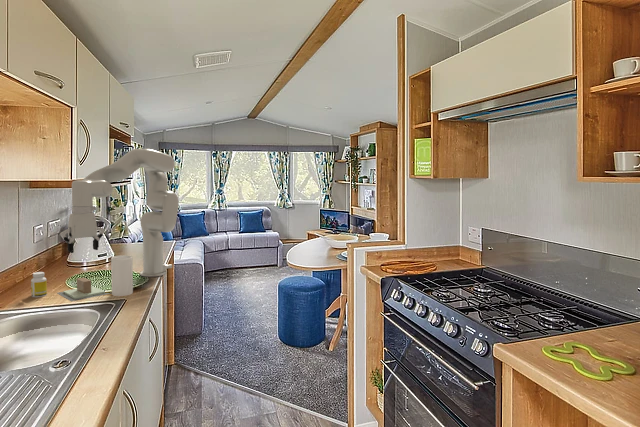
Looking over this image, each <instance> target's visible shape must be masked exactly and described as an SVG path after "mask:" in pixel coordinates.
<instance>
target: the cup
mask: <svg viewBox="0 0 640 427" xmlns="http://www.w3.org/2000/svg"><path fill="white" fill-rule="evenodd" d="M110 260H111V261H110V262H111V263H110V264H111V265H110V268H111V271H110V272H111V293H112V294H111V295H112V296H114V297H125V296H130V295H132V294H134V282H133V281H134V278H133V274H134V273H133V271H134V269H133V256H132V255H127V254H126V255H125V254H124V255H123V254H122V255H114V256H112V257H111V258H110Z"/></svg>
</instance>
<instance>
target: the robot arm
mask: <svg viewBox="0 0 640 427" xmlns="http://www.w3.org/2000/svg"><path fill="white" fill-rule="evenodd" d="M140 168H143V170H144V171H145V173H146V174H147V176H148V178H149V184H148V192H147V197H146V198H147V199H146V205H147V206H148V207H149V208H150V209H153V210H160V211H161V212H159V211H148V212H144V213H142V216H141V217H140V228H141V233H142V262H143V263H142V266H143V267H142V268H143V270H141V271H140V272H139V276H141V277H148V278H149V277H150V278H155V277H162V276H165V275H166V274H167V272H168V271H167V269H172V268H173V265H172V263H171V264H165V263H164V237H163V235H162V233H170V232H172V231H173V230H174V229H175V228H176V227H175V226H176V223H177V218H178V211H179V205H180V204H179V202H180V201H179V197H178V195H177V194H176V192H174V191H171V190H168V178H167V176H166V174H165V173H169V172H171V171H172V170H173V169H174V168H175V160H174V158H173V157H172V156H171V155H170V154H167V153H164V152H161V151H157V150H154V149H150V148H133V149H130V151H128V152H126V153H125V154H124V155H123V156H121V157H120V158H118V159H117V160H116V161H114V162H113V163H111V164H108V165H106V166H104V167H101V168H99V169H96V170H95V171H93V172H91V173H90V174H88V175H87V176H85V177H84V178H83V179H82V180H79V179H78V180H73V181H72V182H71V210H72V211H71V212H72V213H70V214H69V217H68V225H67V229H65V230H63V231H61V232H60V233H59V234H60V237H61V238H62V240H63V241H64V242H65V243H67V251H68V252H69V253H71V254H73V253H74V243H73V242H74V241H75V240H76V239H84V238H85V239H86V238H92V239H93V240H92V250H94V251H98V250H99V247H100V246H99V245H100V244H99V241H100V239H102V237H103V235H104V233H105V231H106V230H105V228H101V227H100V226H98V224H97V223H98V222H97V219H96V214H95V212H94V211H97V206H94V205H93V204H94V202H93V201H94V200H93V199H94V198H102V199H103V198H104V199H105V198H106V197H109V196H110V195H111V194H112V193H113V190H114V189H113V188H114V187H113V185H112V184H111V183H113V182H119V181H123V180H125V179H128V178H129V177H130V176H131V175H133V174H134V173H135V172H136V171H137V170H139V169H140ZM98 232H99V233H98ZM66 235H68V237H67V236H66Z"/></svg>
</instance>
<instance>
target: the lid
mask: <svg viewBox="0 0 640 427" xmlns="http://www.w3.org/2000/svg"><path fill="white" fill-rule="evenodd" d="M94 286H95V285H92V280H90V279H88V278H86V277H79V278H76V288H73V289H69V290H68V289H66V290H63V291H62V292H63V293H64V294H66V295H68V296H70V297H72V298H74V299H78V298H83V297H88V296H93V295H99V294H104V293H105V291H103V290H101V289H102V288H101V289H99V288H100V287H99V288H96V287H94Z"/></svg>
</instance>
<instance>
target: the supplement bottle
mask: <svg viewBox="0 0 640 427" xmlns="http://www.w3.org/2000/svg"><path fill="white" fill-rule="evenodd" d="M32 277H33V278H31V279H30V290H31V291H30V292H31V298H42V297H45V296H47V295H48V286H47V284H48V283H47V278H46V277H45V272H44V271H37V272H33V273H32Z"/></svg>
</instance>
